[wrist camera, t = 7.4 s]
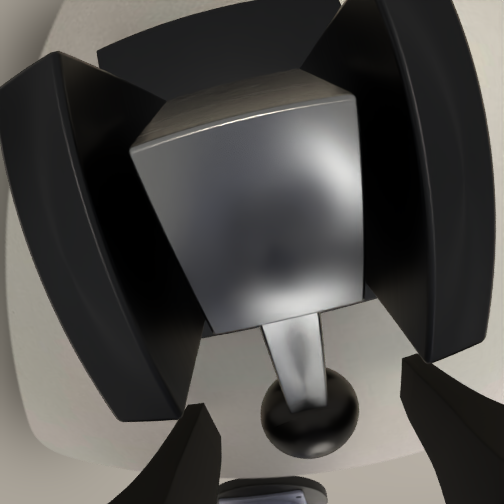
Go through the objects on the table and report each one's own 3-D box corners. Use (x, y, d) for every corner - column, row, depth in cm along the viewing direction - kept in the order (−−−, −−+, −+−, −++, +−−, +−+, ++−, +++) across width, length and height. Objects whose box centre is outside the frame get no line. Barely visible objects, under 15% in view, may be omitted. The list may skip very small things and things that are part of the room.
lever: (345, 381, 11) (364, 454, 9) (265, 399, 12) (275, 473, 9) (322, 61, 5) (428, 98, 2) (142, 105, 5) (64, 186, 2)
